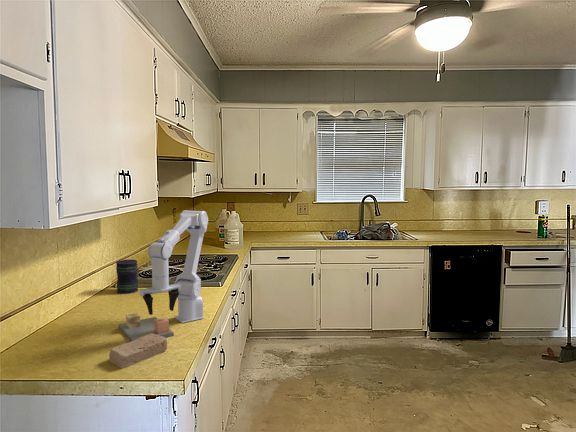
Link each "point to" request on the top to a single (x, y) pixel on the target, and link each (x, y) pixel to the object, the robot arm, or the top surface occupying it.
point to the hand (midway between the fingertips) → (161, 312)
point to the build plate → (143, 329)
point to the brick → (137, 350)
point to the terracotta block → (161, 325)
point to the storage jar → (127, 276)
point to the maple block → (133, 320)
